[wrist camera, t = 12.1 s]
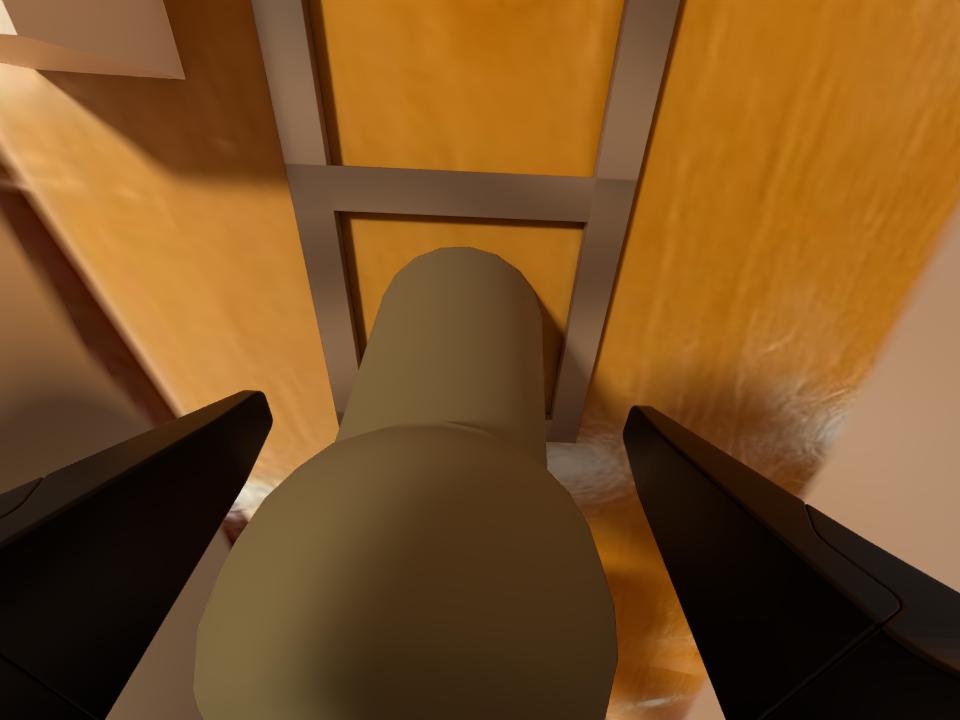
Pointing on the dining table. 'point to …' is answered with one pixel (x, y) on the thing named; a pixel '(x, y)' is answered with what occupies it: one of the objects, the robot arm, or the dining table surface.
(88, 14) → the die
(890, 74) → the dining table surface
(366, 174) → the three-pane window frame
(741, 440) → the dining table surface
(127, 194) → the dining table surface
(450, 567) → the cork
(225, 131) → the dining table surface
